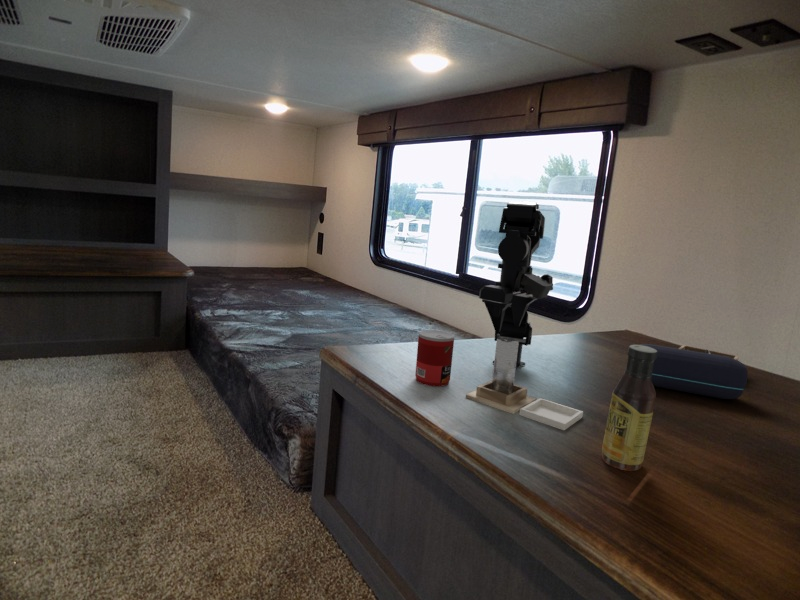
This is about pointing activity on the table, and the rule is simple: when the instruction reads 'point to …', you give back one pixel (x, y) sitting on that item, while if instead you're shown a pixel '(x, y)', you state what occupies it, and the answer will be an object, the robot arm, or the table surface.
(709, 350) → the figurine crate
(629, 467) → the sauce bottle
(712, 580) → the table surface
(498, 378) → the cylinder
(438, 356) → the canned food
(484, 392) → the wooden socket base
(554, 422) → the tray
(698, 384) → the portable speaker
